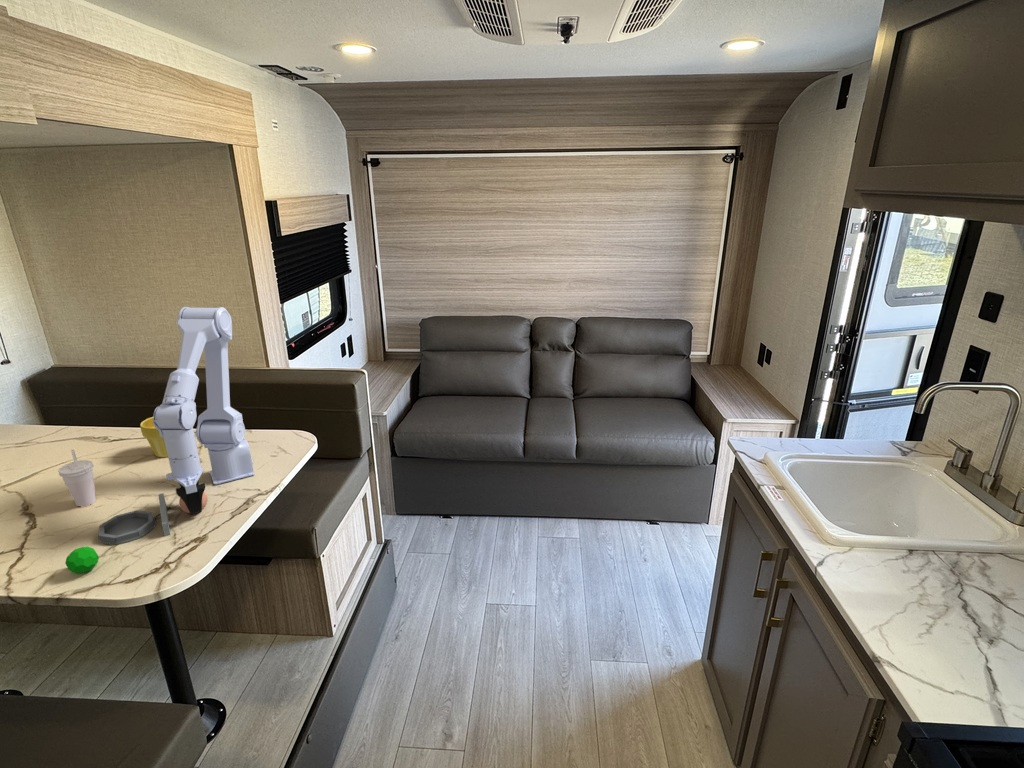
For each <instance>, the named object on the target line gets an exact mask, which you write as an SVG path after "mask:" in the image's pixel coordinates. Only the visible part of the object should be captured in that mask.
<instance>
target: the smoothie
mask: <svg viewBox="0 0 1024 768" xmlns="http://www.w3.org/2000/svg"><path fill="white" fill-rule="evenodd" d="M70 452H71V455H72V458H73V462H69V463H67V464H66V463H65V464H64V465H62V466H60V468H59V469H58V470H57V471H58V475H59V476H60V477H62V479H63V481H64V484H65V485H66V487H67V489H68V491H69V493H70V496H71V497H72V499H73V501H74V503H75V505H76V507H78V506H85V507H88V506H91V505H93V504H94V503H96V502H97V497H96V496H97V495H96V487H95V479H94V471H93V470H94V466H95V465H94V463H93V461H91V460H87V459H83V460H78V459H77V454H76V451H75V449H71V450H70ZM92 503H93V504H92ZM90 504H91V505H90ZM87 505H88V506H87Z"/></svg>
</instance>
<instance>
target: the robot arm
mask: <svg viewBox="0 0 1024 768" xmlns="http://www.w3.org/2000/svg"><path fill="white" fill-rule="evenodd" d="M232 321H233V320H232V316H231V315H230V313H229V311H228V310H227V309H226V308H225V307H221V306H220V307H188V306H183V307H181V308H180V310H179V312H178V314H177V328H178V330H179V332H180V334H181V342H180V348H179V349H180V350H179V355H178V361H177V368H176V370H174V371H172V372H170V374H169V376H168V380H167V383H166V387H165V391H164V396H163V399H162V403H161V404H160V405H158V406H157V407H156V408H155V409H154V412H153V416H152V417H153V424H154V426H155V428H156V429H158V431H159V433H160V436H161V437H162V438H164V441H165V445H166V450H167V454H168V457H167V458H168V462H169V467H170V470H171V472H170V473H167V474H165V477H166V480H167V481H170V480H173V481H175V482H176V483H177V484H178V485H179V486H180V487H177V488H175V492H176V493H175V494H176V495H177V496H178V497H179V499H180V498H181V499H182V500H183V501H184V502H185V504H186V506H187V508H188V510H189V512H190V513H189V514H190V515H196V514H198V513H201V512H202V511H203V509H202V496H203V492H205V490H206V483H205V482H202V483H200V478H201V476H202V474H203V471H204V470H203V469H204V468H203V466H202V465H201V459H200V456H199V450H198V447H197V441H198V443H200V444H201V445H203V447H204V449H207V451H208V457H209V461H210V462H209V463H210V467H211V470H210V471H209V473H210V477H211V480H212V484H213V485H215V486H216V485H220V484H224V483H229V482H232V481H236V480H240V479H243V478H248V477H253V476H254V475H255V472H254V463H253V461H254V460H253V458H252V453H251V450H250V445H249V443H248V439H247V438H245V435H246V427H245V424H244V421H243V420H244V419H243V413H241V412H239V411H238V410H237V409H235V408H233V407H232V406H231V397H230V394H231V393H230V391H231V390H230V371H229V351H228V350H229V349H228V347H229V346H228V344H229V342H231V341H233V340H232V339H233V322H232ZM203 352H204V361H205V362H204V366H205V384H206V385H205V386H206V387H205V388H206V405H207V407H206V409H205V410H204V411H203V412H202V413H200V414H199V415H198V417H197V405H196V403H197V402H195V399H196V395H197V390H198V386H199V384H200V383H199V381H200V378H199V377H198V375H197V374H196V371H197V368H198V366H199V363H200V359H201V356H202V355H203ZM196 421H197V426H196V429H195V432H194V426H195V423H196ZM196 439H197V440H196Z"/></svg>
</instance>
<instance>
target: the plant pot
mask: <svg viewBox="0 0 1024 768" xmlns="http://www.w3.org/2000/svg"><path fill="white" fill-rule="evenodd" d="M139 425H140V426H139V428H140V431H141V434H142V436H143V438H145V439H146V440H147V442H148V444H149V446H150V448H151V450H152V451H153V453H154V456H155V457H158V458H168V454H167V450H166V445H165V441H164V438H162V437H161V436H160V433H159V431H158V429H156V428H155V426H154V424H153V416H152V417H147V418H146V419H145V420H143V421H141V422H140V424H139Z"/></svg>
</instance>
